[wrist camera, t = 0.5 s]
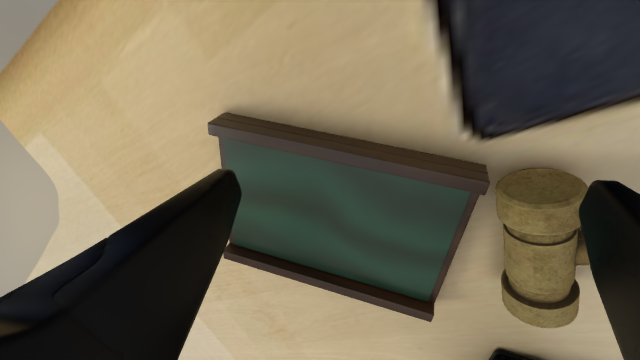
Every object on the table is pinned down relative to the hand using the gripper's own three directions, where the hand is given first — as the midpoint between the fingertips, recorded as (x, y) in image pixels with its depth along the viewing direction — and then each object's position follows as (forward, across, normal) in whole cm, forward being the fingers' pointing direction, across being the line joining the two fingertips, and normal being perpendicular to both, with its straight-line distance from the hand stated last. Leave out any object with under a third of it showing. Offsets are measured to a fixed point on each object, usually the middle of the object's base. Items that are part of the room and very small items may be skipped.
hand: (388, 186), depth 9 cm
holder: (+13, +6, +14) cm, 20 cm away
